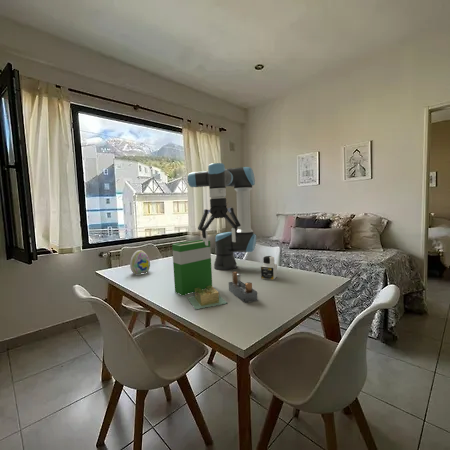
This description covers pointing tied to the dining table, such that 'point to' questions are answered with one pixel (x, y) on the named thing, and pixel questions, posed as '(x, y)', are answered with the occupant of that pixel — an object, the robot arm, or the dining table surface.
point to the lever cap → (206, 295)
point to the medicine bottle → (268, 268)
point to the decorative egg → (140, 262)
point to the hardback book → (191, 266)
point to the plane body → (242, 289)
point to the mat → (198, 306)
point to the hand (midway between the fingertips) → (220, 243)
